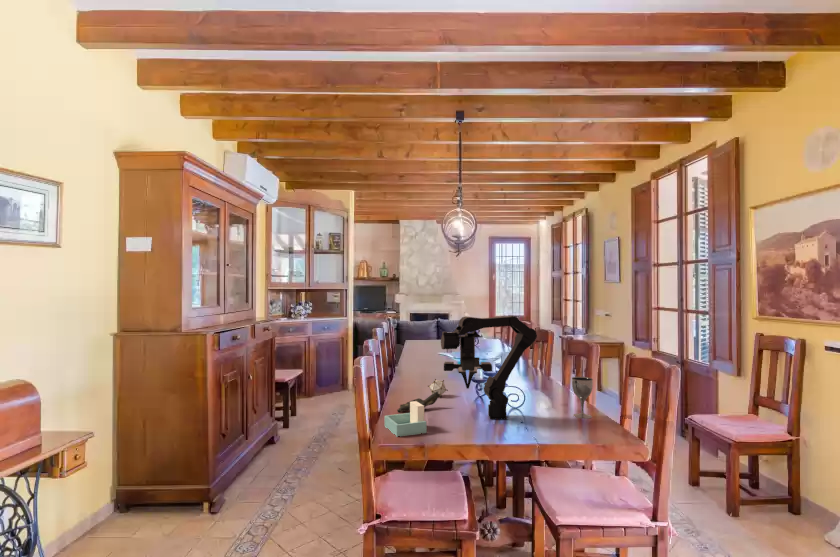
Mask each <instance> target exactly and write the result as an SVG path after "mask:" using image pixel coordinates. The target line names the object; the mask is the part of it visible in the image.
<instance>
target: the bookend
mask: <svg viewBox="0 0 840 557" xmlns="http://www.w3.org/2000/svg"><path fill="white" fill-rule="evenodd" d="M411 401H412V400H411ZM409 402H410V401H409ZM409 413H410V423H414V422H422V421H425V408H424V405H422V404H420V403H419V402H417V401H412V402H410V410H409Z"/></svg>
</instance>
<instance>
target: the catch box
mask: <svg viewBox="0 0 840 557" xmlns="http://www.w3.org/2000/svg"><path fill="white" fill-rule="evenodd" d="M384 427H385V428H386V429H387V428H388V429H389V430H390V431H391V432H390V431H389V430H388V429H387V430H388V431H389V432H390V433H392V434H393V435H394V434H395V435H396V436H395V435H394V436H395V437H397V438H398V436H400V437H406V436H414V435H420V434H421V433H422V434H427V430H428V429H427V421H426V420H424V421H422V422H414V423H410V412H405V413H398V414H397V413H395V414H387V415H384Z"/></svg>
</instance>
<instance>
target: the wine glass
mask: <svg viewBox="0 0 840 557" xmlns="http://www.w3.org/2000/svg"><path fill="white" fill-rule="evenodd" d="M593 381H594V379H593V378H592V377H588V376H573V377H571V386H572V391H573V393H574V394H575V395H576V397H577V399H579V401H580V407H581V412H580V413H574V414H573V415H572V416H573V417H574V416H575V417H574V418H577V419H591V418H593V416H592V415H591V414H587V413H584V406H585V401H586V400H587V399H588V398H589V396H591V394H592V391H593V385H594V382H593Z"/></svg>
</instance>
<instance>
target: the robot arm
mask: <svg viewBox="0 0 840 557" xmlns="http://www.w3.org/2000/svg"><path fill="white" fill-rule="evenodd" d="M499 327H510V329H512V330H513V331H514V332H515V334H516V335H515V338H514V343H513V346H512V348H511V349H510V350H509V353H508V354H507V356H506V358H505V359H504V361H503V362H502V364H501V366H500V368H499V369H498V370H497V372H496V374H495V375H494V376H490V375H489V376H487V380H486V382H484V383H483V385H484V386H483V393H484V394H485V395H486V396H487V397H488V400H489V404H488V405H487V407H488V408H487V412H488V413H487V414H488V415H487V416H488V417H489V418H490V420H508V418H507V417H508V416H507V404H508V401H509V398H508V396H506V395H505V394H504V392H505V389H506V383H507V380H508V378H509V377H510V375H511V374H512V372H513V370H514V369H515V366H516V365H517V363H518V362H519V360H520V358H521V357H522V355H523V353H524V352H525V351H526V350H527V349H528V348H529V347H531V346H532V345H533V343H534V342H535V341H536V340H537V338H538V336H537V335H538V334H537V331H536V330H535V329H533V328H531V327H529V326H528V325H527V324H525V323H524V322H522V321H521V319H519V318H518V317H517V316H515V315H507V316H493V317H482V318H481V317H473V316H462V317H461V318H460V319H459V320H458V325H457V326H456V327H455V329H454V331H450V332H449V331H442V333H441V334H442V335H441V337H440V338H441V339H440V347H441V349H442V350H457V349H458V348H459V358H460V359H459V361H460V362H459V363H454V362H455V361H444V363H443V371H444V372H452V371H453V370H454V369H456V370H457V373H458V374H461V376H462V378H463V380H464V381H463V382H464V384H465V388H466V390H469V389H470V386H471V382H472V380H473V377H474V376H475V374H478V370H482V371H483V372H493V366H492V363H491V362H489V361H481V363H480V357H476V351H475V350H476V348H475V347H476V340H475V338H480V337H481V335H480V334H478V332H477V331H479V330H481V329H485V328H499ZM467 371H468V377H467Z"/></svg>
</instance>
